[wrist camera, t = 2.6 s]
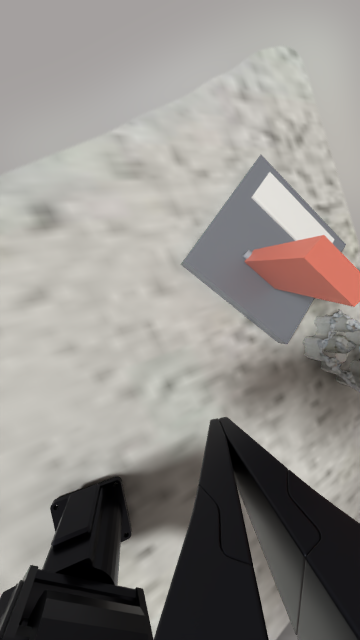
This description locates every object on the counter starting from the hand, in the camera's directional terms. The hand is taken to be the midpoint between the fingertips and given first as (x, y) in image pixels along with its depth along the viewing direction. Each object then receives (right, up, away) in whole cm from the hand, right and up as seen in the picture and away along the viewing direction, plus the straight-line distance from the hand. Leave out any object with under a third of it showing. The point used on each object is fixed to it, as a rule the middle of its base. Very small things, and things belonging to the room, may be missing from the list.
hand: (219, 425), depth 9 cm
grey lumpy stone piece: (+20, +1, +17) cm, 26 cm away
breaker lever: (+8, +11, +12) cm, 18 cm away
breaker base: (+9, +13, +14) cm, 22 cm away
